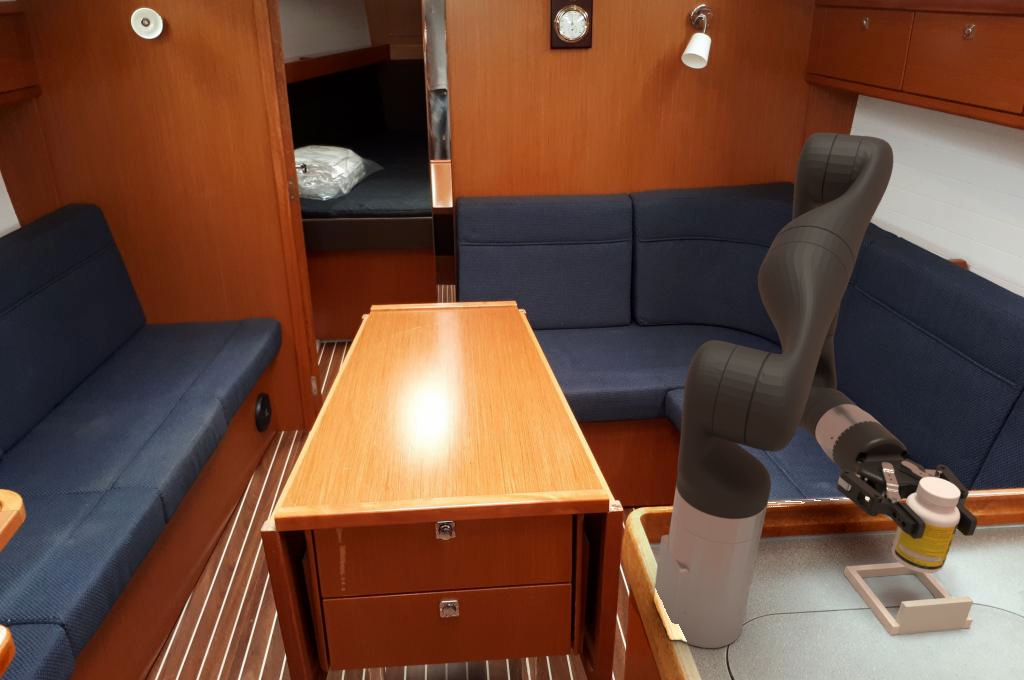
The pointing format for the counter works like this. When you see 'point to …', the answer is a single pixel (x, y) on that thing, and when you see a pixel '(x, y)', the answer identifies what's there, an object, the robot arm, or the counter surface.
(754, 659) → the counter surface
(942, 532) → the supplement bottle
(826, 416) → the robot arm
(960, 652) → the counter surface
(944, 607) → the beige open frame
